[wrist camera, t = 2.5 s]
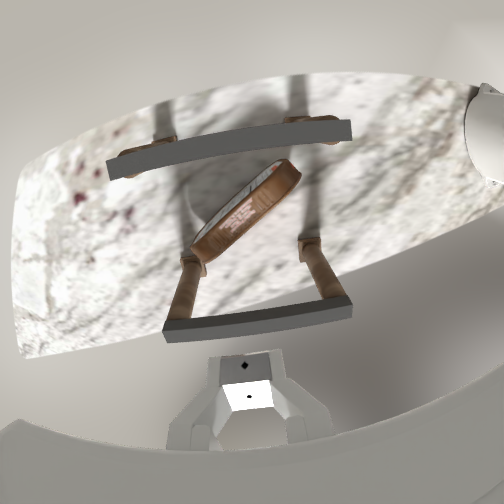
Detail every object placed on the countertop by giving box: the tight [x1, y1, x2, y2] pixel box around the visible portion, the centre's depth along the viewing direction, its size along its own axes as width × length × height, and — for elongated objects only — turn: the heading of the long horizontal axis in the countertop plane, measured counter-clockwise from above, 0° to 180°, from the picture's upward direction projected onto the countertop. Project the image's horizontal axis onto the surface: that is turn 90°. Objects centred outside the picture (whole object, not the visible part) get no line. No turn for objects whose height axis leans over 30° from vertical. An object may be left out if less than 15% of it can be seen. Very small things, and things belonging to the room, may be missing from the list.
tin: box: [190, 159, 302, 264], centre depth 30 cm, size 15×3×8 cm, turn 132°
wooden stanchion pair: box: [117, 115, 346, 321], centre depth 28 cm, size 19×19×12 cm
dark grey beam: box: [162, 295, 353, 343], centre depth 25 cm, size 18×2×2 cm, turn 98°
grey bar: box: [106, 119, 352, 181], centre depth 18 cm, size 18×2×2 cm, turn 98°
